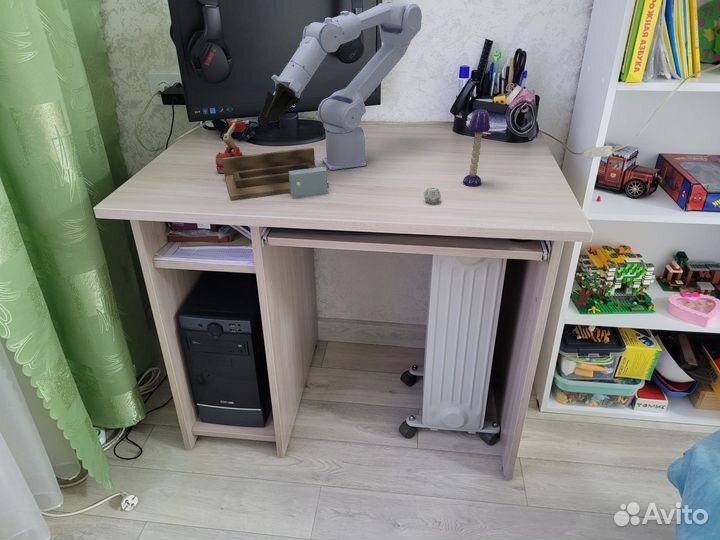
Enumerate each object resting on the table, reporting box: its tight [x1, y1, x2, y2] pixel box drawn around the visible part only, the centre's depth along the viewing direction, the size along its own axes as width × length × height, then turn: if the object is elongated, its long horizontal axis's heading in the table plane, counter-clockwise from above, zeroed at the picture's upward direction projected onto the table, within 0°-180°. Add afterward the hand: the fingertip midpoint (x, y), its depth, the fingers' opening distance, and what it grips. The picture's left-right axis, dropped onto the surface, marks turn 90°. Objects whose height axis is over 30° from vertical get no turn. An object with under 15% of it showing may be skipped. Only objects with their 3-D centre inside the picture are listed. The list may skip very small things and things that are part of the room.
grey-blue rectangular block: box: [289, 166, 329, 199], centre depth 120 cm, size 8×3×6 cm, turn 108°
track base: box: [222, 147, 330, 201], centre depth 126 cm, size 22×14×5 cm, turn 108°
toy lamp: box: [462, 108, 491, 187], centre depth 121 cm, size 5×5×17 cm
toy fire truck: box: [215, 121, 247, 174], centre depth 136 cm, size 3×14×10 cm, turn 168°
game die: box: [423, 186, 441, 205], centre depth 116 cm, size 4×4×3 cm
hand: (265, 121), depth 117 cm, fingers open, 7 cm apart
